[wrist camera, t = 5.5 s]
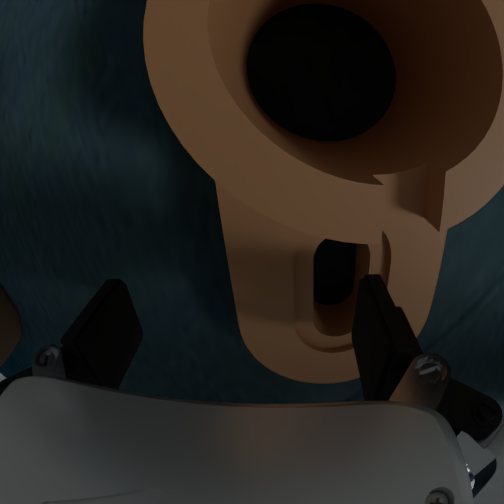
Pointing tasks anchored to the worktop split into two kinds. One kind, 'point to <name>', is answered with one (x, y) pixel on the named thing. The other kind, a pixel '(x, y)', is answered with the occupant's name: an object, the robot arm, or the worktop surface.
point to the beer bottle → (8, 326)
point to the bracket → (335, 163)
